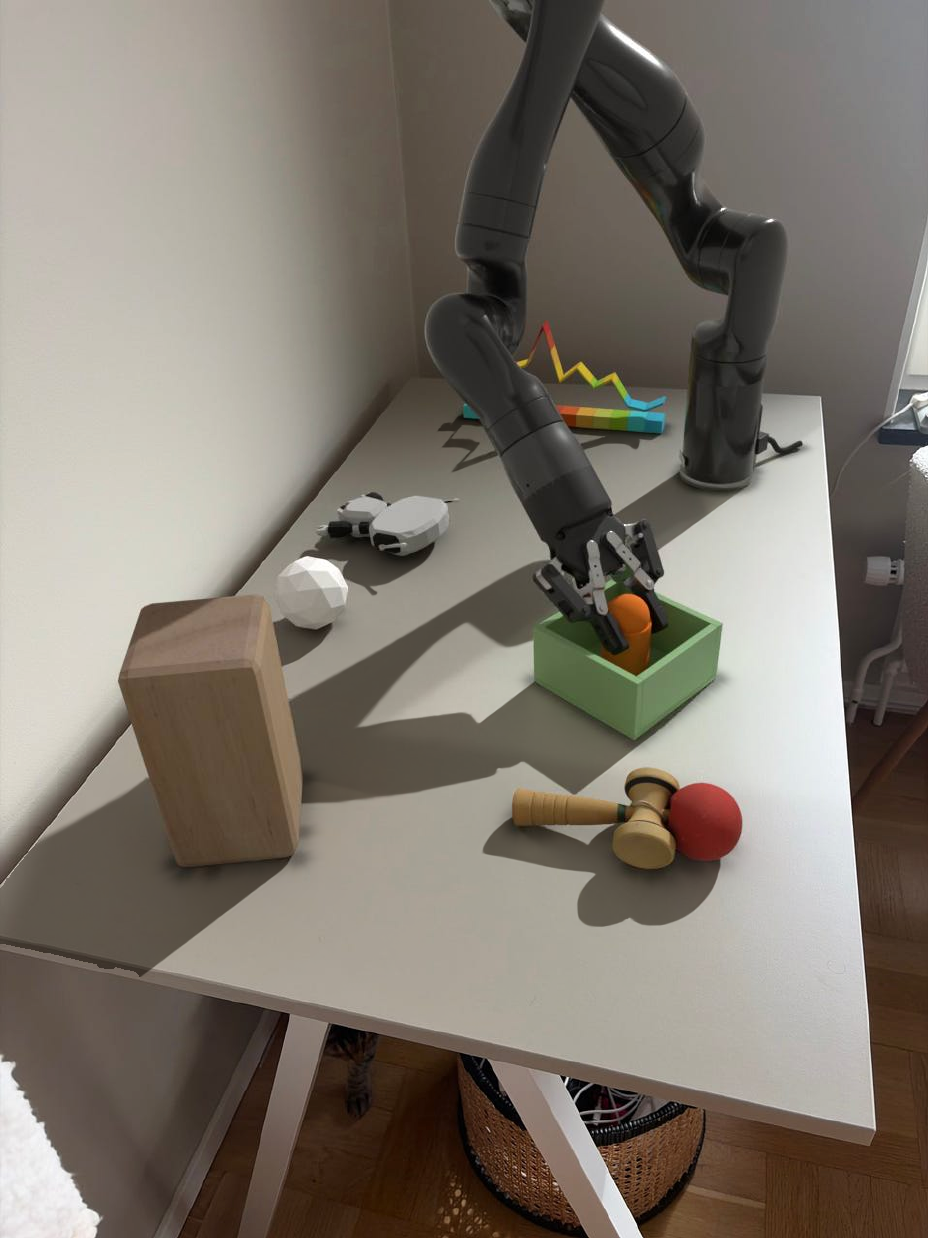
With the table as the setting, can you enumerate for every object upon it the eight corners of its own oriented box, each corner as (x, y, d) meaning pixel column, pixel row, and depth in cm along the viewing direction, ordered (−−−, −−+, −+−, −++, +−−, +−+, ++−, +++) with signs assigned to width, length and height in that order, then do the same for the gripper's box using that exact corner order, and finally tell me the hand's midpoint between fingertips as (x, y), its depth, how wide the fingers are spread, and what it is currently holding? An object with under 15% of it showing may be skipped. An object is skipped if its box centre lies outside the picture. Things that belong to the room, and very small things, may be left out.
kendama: (509, 873, 78) (742, 888, 73) (499, 807, 76) (739, 817, 70) (530, 817, 85) (744, 827, 80) (521, 755, 83) (742, 760, 77)
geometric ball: (310, 652, 107) (261, 622, 101) (304, 594, 112) (257, 562, 106) (365, 623, 104) (319, 591, 98) (358, 565, 109) (313, 530, 103)
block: (192, 786, 87) (138, 599, 75) (305, 775, 87) (268, 587, 76) (175, 873, 79) (111, 678, 67) (299, 861, 79) (256, 665, 68)
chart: (664, 424, 145) (671, 324, 136) (661, 433, 142) (668, 331, 134) (469, 409, 153) (464, 314, 145) (463, 417, 151) (458, 321, 142)
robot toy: (313, 554, 121) (414, 574, 113) (306, 521, 118) (408, 540, 111) (370, 510, 129) (467, 526, 122) (364, 479, 127) (463, 494, 119)
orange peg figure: (620, 653, 98) (624, 578, 93) (657, 673, 95) (663, 596, 90) (590, 674, 96) (592, 598, 90) (627, 695, 93) (631, 617, 88)
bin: (616, 627, 103) (618, 574, 99) (716, 678, 95) (723, 623, 92) (533, 681, 96) (533, 627, 93) (634, 741, 89) (637, 684, 85)
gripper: (515, 490, 86) (608, 662, 84) (630, 442, 93) (717, 600, 91) (479, 521, 92) (565, 681, 91) (589, 475, 99) (670, 623, 98)
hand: (641, 640), depth 91 cm, fingers closed on orange peg figure, 4 cm apart
